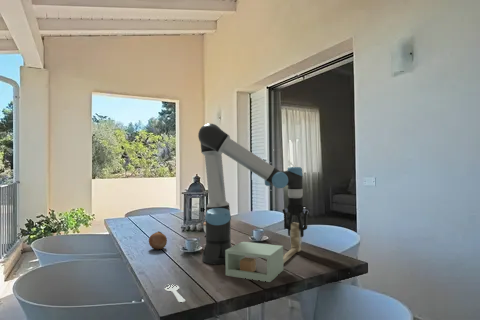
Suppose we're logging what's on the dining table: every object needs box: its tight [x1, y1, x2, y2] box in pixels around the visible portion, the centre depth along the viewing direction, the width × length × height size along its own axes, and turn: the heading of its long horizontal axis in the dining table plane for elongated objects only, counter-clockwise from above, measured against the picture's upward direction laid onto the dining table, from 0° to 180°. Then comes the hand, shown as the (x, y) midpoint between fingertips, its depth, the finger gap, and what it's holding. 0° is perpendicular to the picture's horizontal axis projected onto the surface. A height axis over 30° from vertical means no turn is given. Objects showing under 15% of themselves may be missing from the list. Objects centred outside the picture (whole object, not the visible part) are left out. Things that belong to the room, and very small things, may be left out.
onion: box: [148, 231, 168, 251], centre depth 180 cm, size 10×9×10 cm
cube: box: [239, 256, 257, 272], centre depth 143 cm, size 5×5×5 cm
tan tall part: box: [283, 221, 302, 265], centre depth 164 cm, size 7×27×14 cm, turn 155°
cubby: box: [225, 241, 284, 283], centre depth 141 cm, size 19×16×10 cm
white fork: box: [164, 283, 186, 303], centre depth 120 cm, size 5×18×1 cm, turn 26°
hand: (295, 242), depth 174 cm, fingers closed on tan tall part, 4 cm apart
